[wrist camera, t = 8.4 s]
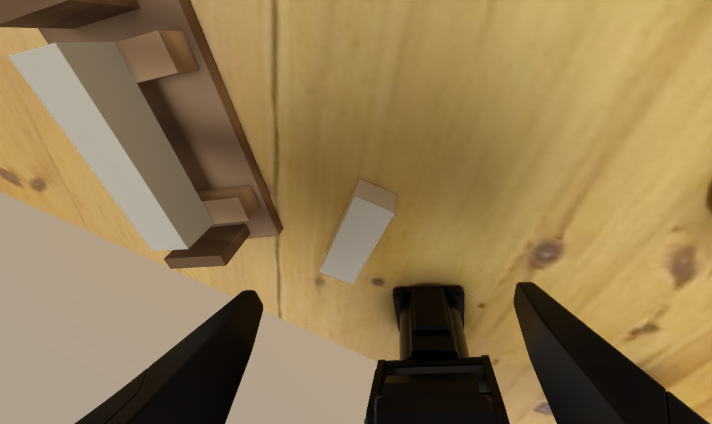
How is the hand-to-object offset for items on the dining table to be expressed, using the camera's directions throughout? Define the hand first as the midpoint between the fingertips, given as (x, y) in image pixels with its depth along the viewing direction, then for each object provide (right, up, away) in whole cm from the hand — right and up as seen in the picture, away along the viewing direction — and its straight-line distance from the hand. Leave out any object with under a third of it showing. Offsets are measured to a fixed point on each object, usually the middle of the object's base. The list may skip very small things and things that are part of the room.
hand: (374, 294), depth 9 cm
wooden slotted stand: (-14, +8, +11) cm, 20 cm away
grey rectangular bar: (-14, +7, +9) cm, 18 cm away
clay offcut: (-1, 0, +11) cm, 11 cm away
